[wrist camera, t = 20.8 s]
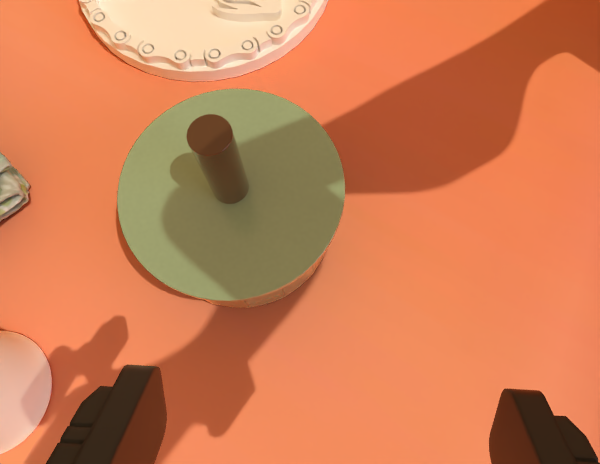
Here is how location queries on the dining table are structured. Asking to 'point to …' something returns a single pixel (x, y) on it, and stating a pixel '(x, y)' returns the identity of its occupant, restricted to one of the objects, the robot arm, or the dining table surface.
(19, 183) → the towel
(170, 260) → the lid
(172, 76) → the medallion
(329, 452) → the dining table surface
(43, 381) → the mug
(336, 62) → the dining table surface
